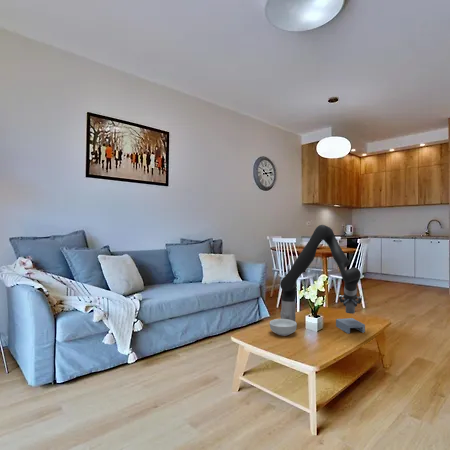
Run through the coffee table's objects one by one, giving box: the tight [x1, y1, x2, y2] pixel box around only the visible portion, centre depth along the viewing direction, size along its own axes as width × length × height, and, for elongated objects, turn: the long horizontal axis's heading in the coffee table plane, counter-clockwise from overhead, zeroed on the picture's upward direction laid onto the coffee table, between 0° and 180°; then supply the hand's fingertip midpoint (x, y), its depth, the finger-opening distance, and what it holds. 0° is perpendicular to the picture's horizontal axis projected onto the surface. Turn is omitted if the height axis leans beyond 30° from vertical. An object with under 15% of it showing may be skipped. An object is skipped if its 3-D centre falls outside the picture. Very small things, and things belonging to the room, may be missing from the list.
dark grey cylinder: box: [345, 301, 356, 315], centre depth 200 cm, size 6×6×9 cm
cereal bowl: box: [269, 318, 298, 337], centre depth 193 cm, size 17×17×7 cm
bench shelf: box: [335, 317, 366, 334], centre depth 200 cm, size 12×14×5 cm
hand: (349, 305), depth 202 cm, fingers closed on dark grey cylinder, 5 cm apart
